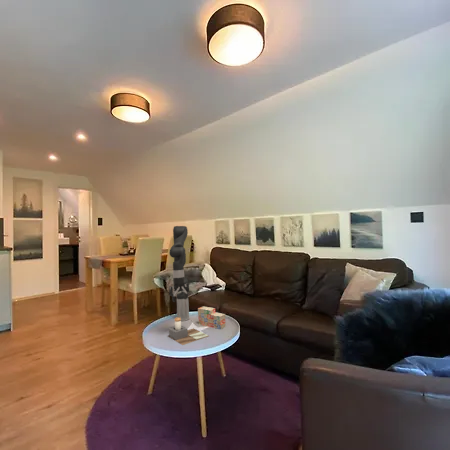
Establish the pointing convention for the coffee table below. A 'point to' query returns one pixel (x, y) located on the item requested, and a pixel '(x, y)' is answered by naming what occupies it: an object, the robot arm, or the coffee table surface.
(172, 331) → the grey square frame
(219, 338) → the coffee table surface
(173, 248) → the robot arm
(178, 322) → the plug
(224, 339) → the coffee table surface
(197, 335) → the base board
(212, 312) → the stack of blocks
